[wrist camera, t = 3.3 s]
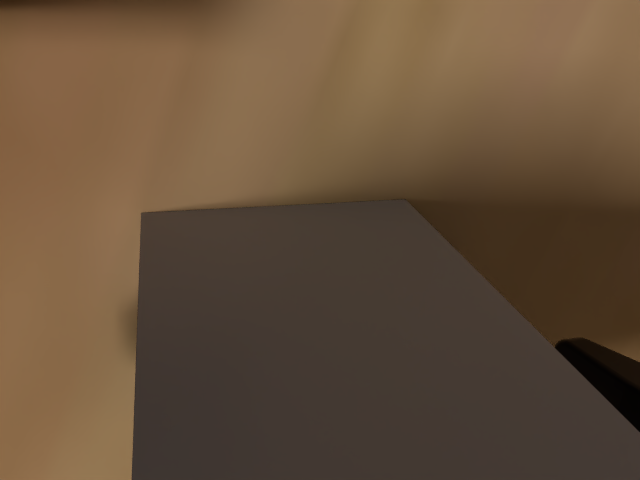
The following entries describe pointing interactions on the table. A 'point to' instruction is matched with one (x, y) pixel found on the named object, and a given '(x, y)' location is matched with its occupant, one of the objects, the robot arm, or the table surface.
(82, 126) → the table surface
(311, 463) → the grey rectangular block
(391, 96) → the table surface
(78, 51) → the table surface
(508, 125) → the table surface
